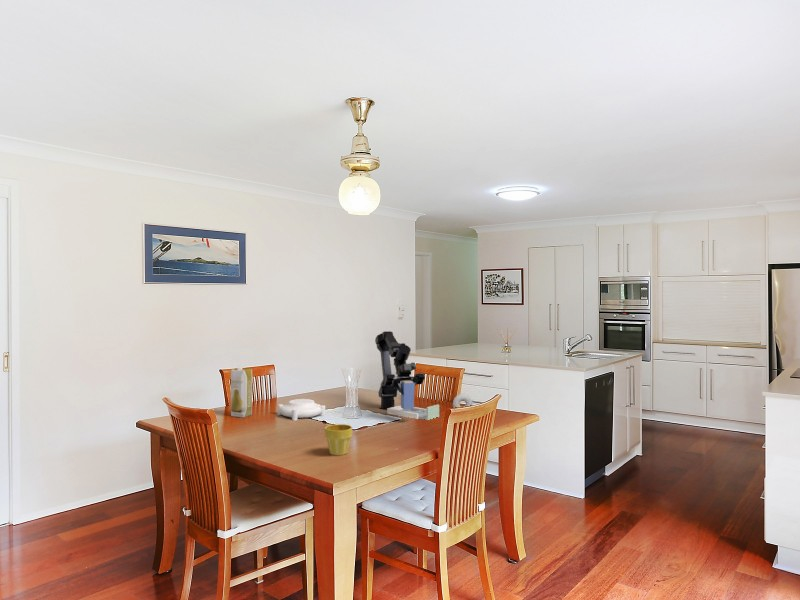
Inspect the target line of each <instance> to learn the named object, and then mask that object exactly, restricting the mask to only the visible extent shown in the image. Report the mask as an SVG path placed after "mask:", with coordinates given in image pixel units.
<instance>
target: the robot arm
mask: <svg viewBox="0 0 800 600" xmlns="http://www.w3.org/2000/svg"><path fill="white" fill-rule="evenodd" d="M374 341H375V342H374V343H375V345H376V349H377V350H378V351H379V353H380V360H381V370H382V380H381V383H380V387H379V390H378V397H379V398H380V406H379V408H378V409H381V410H386V411H387V408H391V407H395V398H397V395H398V392H399V393H400V395H401V394H402V395H403V394H404V393H403V389H402V386H401V382H402V381H409V380H410V381H412V382H413V383H414V392H415V389H416V386H417V385H423V383H424V380H425V378H426V377H425V374H424V373H423V372H419V373H417V372H416V373H415V374H414V376H412V372H413V371H415V370H416V369H417V367H416V363H415V362H410V363H407V361H408V360H409V357H410V354H411V350H412V349H411V347H410V346H408V345H406V343H404V342H403V343H400V342H398V341H397V339H396V337H395V335H394V333H393V331H391V330H390V331H388V330H387V331H386V330H385V331H382V333H379V334H377V335H376V337H375V340H374ZM390 357H391V358H394V359H393V366H394V367H395V374H394V373H392V367H391V358H390Z"/></svg>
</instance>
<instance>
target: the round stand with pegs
mask: <svg viewBox="0 0 800 600" xmlns="http://www.w3.org/2000/svg"><path fill="white" fill-rule="evenodd" d="M277 415H278V416H283V417H284V416H285V417H287V418H291V420H292V421H298V418H299V419H300V418H312V417H315V416H316V417H317V416H320V415H322V416H321V417H324V416H323V415H325V416H326V405H321V404H319V403H316V402H315V400H313V399H308V398H298V399H297V398H296V399H292V400H289V401H288V403H286V404H283V403H280V404H277Z"/></svg>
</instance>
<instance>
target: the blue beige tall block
mask: <svg viewBox="0 0 800 600" xmlns="http://www.w3.org/2000/svg"><path fill="white" fill-rule="evenodd" d="M401 386H402V389H403V393H404V394H403V395H402V394H401V393H400V405H401V408H403V409H414V407H415V391H414V383H413V382H412V381H410V380H409V381H402V382H401Z"/></svg>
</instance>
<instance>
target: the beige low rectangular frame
mask: <svg viewBox="0 0 800 600" xmlns="http://www.w3.org/2000/svg"><path fill="white" fill-rule="evenodd" d="M414 408H416V409H422V410H424V412H425V413H426V408H423V407H417V406H414ZM402 409H403V408H401V404H400V405H397V406H396V405H395V406H394V407H391V408H387V410H386V414H388V415H394V416H399V417H404V418H408V417H409V419H414V418H415V419H414V420H418V419H419V414H418V413H412V412H407V411H401V410H402Z"/></svg>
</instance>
